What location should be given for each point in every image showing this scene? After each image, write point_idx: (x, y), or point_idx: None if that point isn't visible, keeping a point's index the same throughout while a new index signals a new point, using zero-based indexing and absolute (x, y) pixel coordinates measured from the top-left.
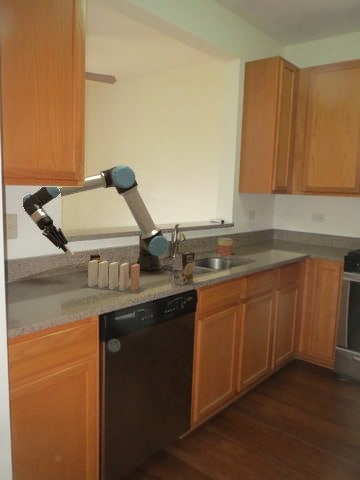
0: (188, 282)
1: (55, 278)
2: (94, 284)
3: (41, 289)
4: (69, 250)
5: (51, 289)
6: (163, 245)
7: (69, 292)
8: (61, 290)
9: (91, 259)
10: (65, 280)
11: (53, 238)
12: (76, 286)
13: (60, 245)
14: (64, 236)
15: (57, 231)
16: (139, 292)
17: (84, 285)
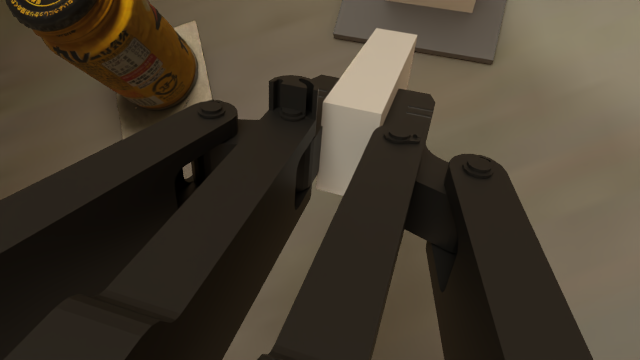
0: None
1: (240, 338)
2: None
3: (605, 322)
4: (401, 59)
5: (583, 246)
6: None
7: (629, 92)
8: (590, 164)
9: (106, 19)
10: (290, 240)
11: (567, 321)
12: (449, 104)
13: (444, 174)
14: (66, 173)
15: (64, 357)
16: None
17: (445, 46)
